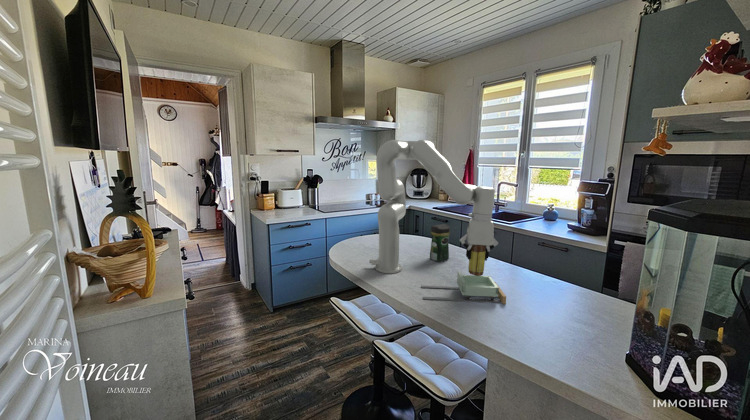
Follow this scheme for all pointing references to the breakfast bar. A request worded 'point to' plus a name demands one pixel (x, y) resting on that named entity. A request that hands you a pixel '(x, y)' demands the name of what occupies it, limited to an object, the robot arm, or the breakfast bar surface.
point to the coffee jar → (440, 242)
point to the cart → (477, 286)
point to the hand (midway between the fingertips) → (476, 258)
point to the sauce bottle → (477, 260)
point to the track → (500, 295)
